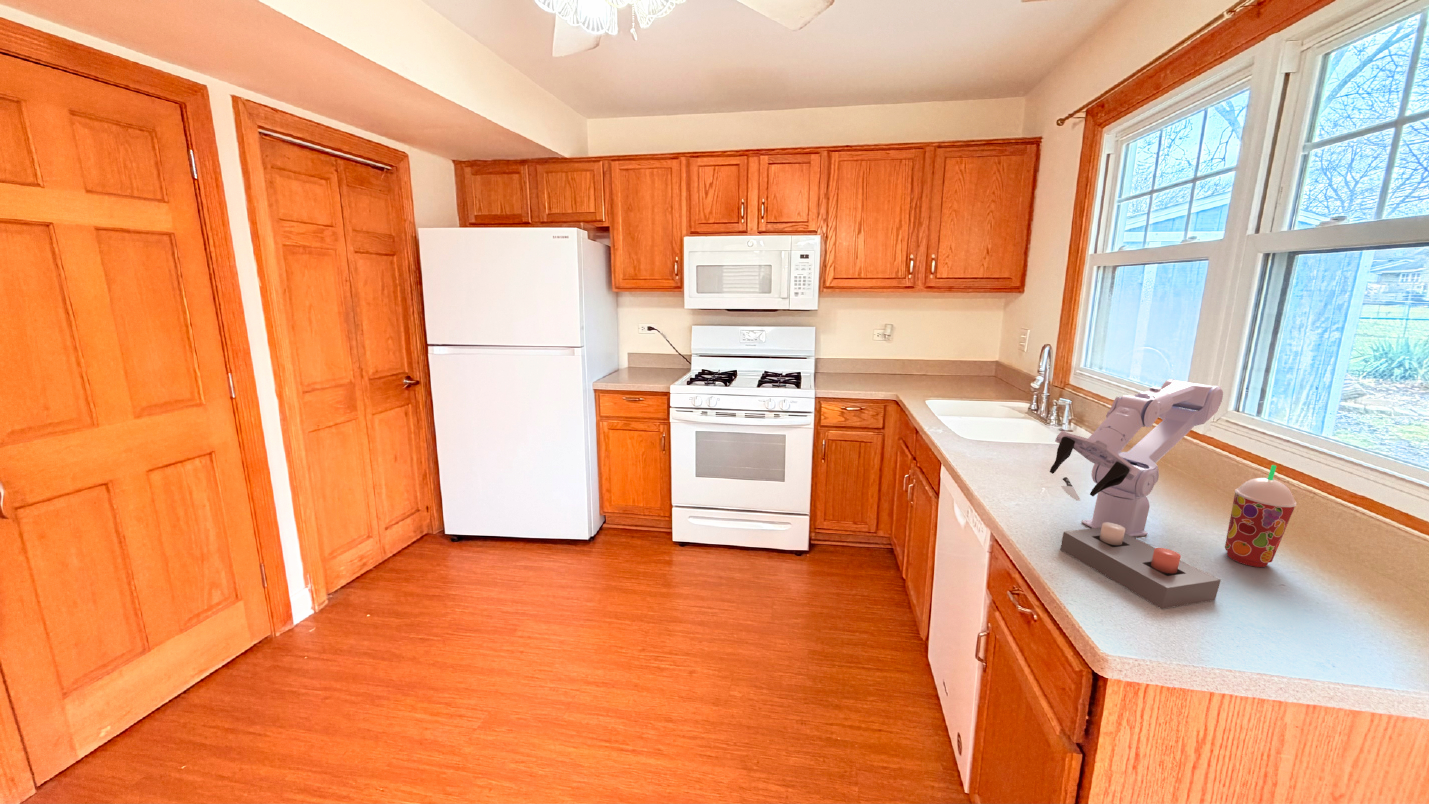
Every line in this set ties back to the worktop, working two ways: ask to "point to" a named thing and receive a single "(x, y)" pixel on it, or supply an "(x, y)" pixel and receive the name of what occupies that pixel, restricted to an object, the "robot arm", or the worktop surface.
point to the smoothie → (1258, 520)
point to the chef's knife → (1070, 489)
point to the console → (1140, 569)
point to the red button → (1165, 560)
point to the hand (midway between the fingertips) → (1072, 481)
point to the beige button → (1112, 533)
